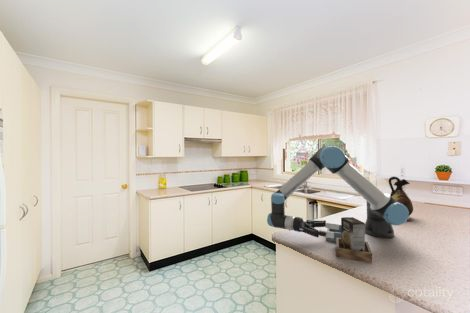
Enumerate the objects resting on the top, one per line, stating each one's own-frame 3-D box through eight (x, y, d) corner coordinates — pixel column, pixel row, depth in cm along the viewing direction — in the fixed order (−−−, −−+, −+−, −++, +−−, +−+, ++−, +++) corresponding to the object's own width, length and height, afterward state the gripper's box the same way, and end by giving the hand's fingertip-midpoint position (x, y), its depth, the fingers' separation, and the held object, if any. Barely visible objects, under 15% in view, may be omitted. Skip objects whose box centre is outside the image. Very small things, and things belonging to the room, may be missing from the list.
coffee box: (340, 249, 107) (340, 217, 107) (353, 248, 108) (352, 216, 107) (352, 258, 98) (351, 223, 98) (365, 257, 99) (365, 222, 98)
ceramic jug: (411, 216, 160) (411, 176, 160) (414, 222, 147) (414, 178, 147) (383, 213, 169) (383, 175, 169) (384, 218, 156) (384, 177, 156)
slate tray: (355, 235, 125) (355, 226, 125) (358, 245, 112) (358, 235, 112) (327, 231, 132) (327, 223, 132) (327, 240, 118) (327, 231, 118)
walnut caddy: (367, 249, 106) (367, 241, 106) (372, 262, 94) (372, 253, 93) (336, 245, 112) (336, 237, 112) (336, 257, 99) (336, 248, 99)
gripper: (301, 224, 129) (340, 230, 117) (286, 237, 108) (331, 247, 96) (301, 211, 129) (340, 217, 117) (285, 223, 108) (331, 231, 96)
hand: (336, 231), depth 106 cm, fingers open, 13 cm apart
